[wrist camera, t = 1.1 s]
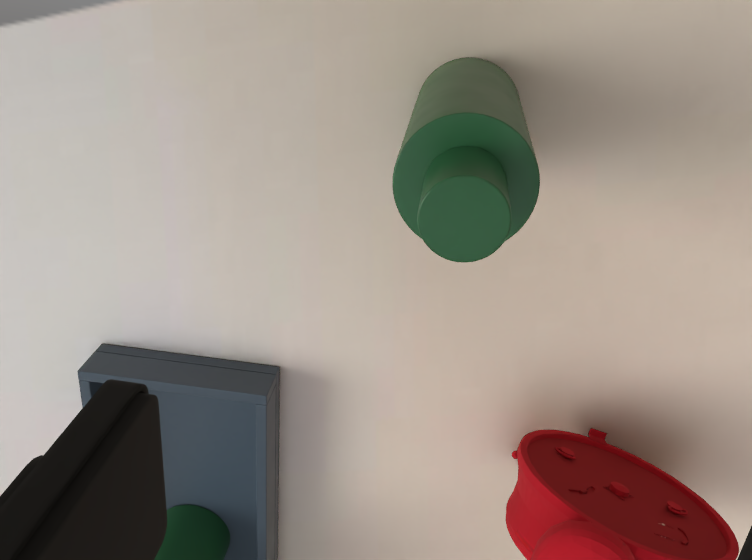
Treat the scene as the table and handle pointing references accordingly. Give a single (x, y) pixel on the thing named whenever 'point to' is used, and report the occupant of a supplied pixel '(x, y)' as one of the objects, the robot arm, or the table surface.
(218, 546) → the bottle
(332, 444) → the table surface
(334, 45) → the table surface
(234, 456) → the tray
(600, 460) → the alarm clock
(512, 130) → the loose bottle
